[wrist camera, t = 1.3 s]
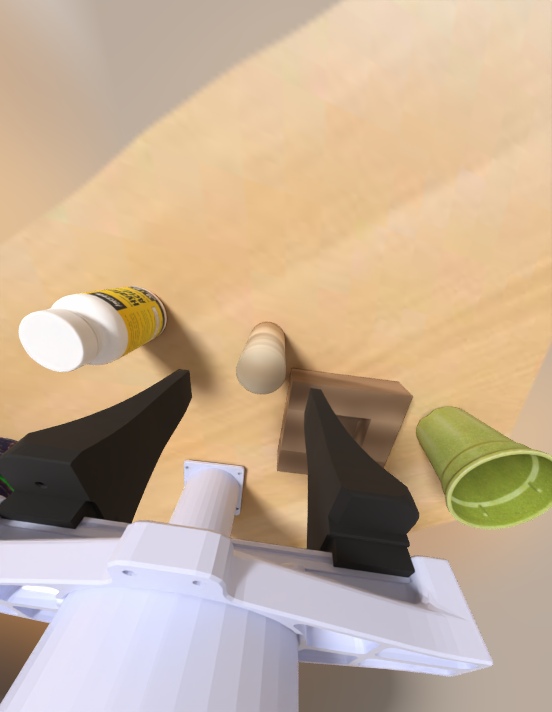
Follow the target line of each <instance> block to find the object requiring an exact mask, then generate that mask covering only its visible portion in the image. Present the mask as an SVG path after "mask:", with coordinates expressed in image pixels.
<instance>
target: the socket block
mask: <svg viewBox="0 0 552 712" xmlns="http://www.w3.org/2000/svg"><path fill="white" fill-rule="evenodd" d="M310 388H315V389H321V390H322V392H323V394H324V396H325V397H326V399H327V401H328V403H329V404H330V406H331V408H332V410H333V411H334V413H335V414H336V416H337V417H338V419H339V420H340V422H341V423H342V425H343V426H344V427H345V429H346V430H347V431H348V433H349V434H350V435H351V436H352V438H353V439H354V440H355V441H356V442H357V443H358V444H359V445H360V447H361V448H362V449H363V450H364V451H365V452H366V453H367V454H368V455H369V456H370V457H371V458H372V459H374V460H375V461H376V462H377V463H378V464H379V465H380V466H381V467H383V468H384V465H385V463H386V461H387V458H388V456H389V453H390V451H391V449H392V446H393V444H394V441H395V439H396V436H397V434H398V432H399V429H400V427H401V424H402V422H403V419H404V417H405V415H406V412H407V410H408V407H409V405H410V402H411V400H412V398H413V396H412V395H411V394H410V393H409V392H408V391H407V390H406V389H405V388H404V387H403V386H402V385H401V384H400V383H399V382H396V381H388V380H380V379H372V378H364V377H357V376H349V375H341V374H333V373H325V372H317V371H309V370H301V369H293V368H292V369H291V375H290V381H289V387H288V393H287V399H286V405H285V411H284V416H283V422H282V428H281V434H280V440H279V446H278V454H277V471H282V472H290V473H299V474H307V475H308V466H307V455H306V446H305V435H304V412H305V408H306V404H307V400H308V396H309V392H310Z"/></svg>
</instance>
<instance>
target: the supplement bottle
mask: <svg viewBox="0 0 552 712" xmlns="http://www.w3.org/2000/svg"><path fill="white" fill-rule="evenodd" d="M166 322H167V316H166V311H165V308H164V306H163V304H162V302H161V301H160V300H159V298H158V297H157V296H156V295H154V294H153V293H152V292H150V291H148V290H146V289H144V288H141V287H123V288H116V289H108V290H101V291H94V292H86V293H78V294H73V295H68V296H65V297H63V298H61V299H59V300H58V301H57V302H56V303H55V304H54V305H53V306H52V308H51V309H47V310H43V311H38V312H34V313H31V314H29V315H27V316H26V317H25V318H24V319H23V320H22V321H21V323H20V327H19V337H20V341H21V343H22V345H23V347H24V349H25V350H26V352H27V353H28V354H29V356H30V357H31V358H32V359H34V360H35V361H36V362H37V363H39V364H40V365H42V366H44V367H46V368H48V369H50V370H53V371H58V372H69V371H73V370H75V369H78V368H80V367H82V366H84V365H86V364H89V365H104V364H108V363H111V362H113V361H115V360H117V359H119V358H121V357H122V356H124V355H126V354H128V353H129V352H131V351H133V350H135V349H137V348H138V347H140V346H142V345H144V344H145V343H147V342H149V341H151V340H153V339H154V338H156V337H157V336H159V335H160V334H161V333H162V332H163V330H164V328H165V326H166Z"/></svg>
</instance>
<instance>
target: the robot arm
mask: <svg viewBox="0 0 552 712" xmlns="http://www.w3.org/2000/svg"><path fill="white" fill-rule="evenodd" d="M191 398H192V393H191V383H190V372H189V371H188V370H181V369H179V370H177V371H175V372H174V373H172V374H171V375H169V376H167V377H166V378H164V379H163V380H161V381H159V382H158V383H156V384H154V385H153V386H151V387H149V388H148V389H146V390H144V391H142V392H140V393H139V394H137V395H135V396H133V397H131V398H129V399H127V400H125V401H123V402H121V403H119V404H117V405H114V406H112V407H110V408H107V409H105V410H102V411H100V412H97V413H95V414H92V415H89V416H87V417H84V418H81V419H78V420H75V421H72V422H68V423H65V424H62V425H58V426H55V427H51V428H47V429H43V430H40V431H36V432H32V433H28V434H27V435H26V436H25V437H23V438H22V439H21V440H20V441H18V442H17V443H16V444H15V445H13V446H12V447H11V448H10V449H8V450H7V451H6V452H5V453H3V454H2V455H1V456H0V474H1V475H2V476H3V478H4V479H5V480H6V481H7V482H8V484H9V485H10V486H11V487H12V488H13V489H14V491H13V492H12V493H11V494H10V495H9V496H8V497H7V498H5V497H3V496H1V495H0V613H5V614H10V615H14V616H19V617H24V618H28V619H34V620H38V621H43V622H47V623H50V624H49V626H48V627H47V629H46V631H45V632H44V634H43V636H42V637H41V639H40V640H39V642H38V644H37V645H36V647H35V649H34V650H33V652H32V654H31V655H30V657H29V659H28V660H27V662H26V663H25V665H24V667H23V668H22V670H21V672H20V673H19V675H18V676H17V678H16V680H15V681H14V683H13V685H12V686H11V688H10V689H9V691H8V693H7V694H6V696H5V698H4V699H3V701H2V703H1V704H0V712H298V662H307V663H319V664H331V665H332V664H333V665H344V666H356V667H368V668H380V669H391V670H401V671H410V672H420V673H427V674H435V675H442V676H449V677H452V676H456V675H460V674H464V673H467V672H471V671H475V670H479V669H483V668H486V667H490V666H493V660H492V658H491V656H490V654H489V651H488V649H487V647H486V645H485V642H484V640H483V638H482V636H481V633H480V631H479V629H478V627H477V624H476V622H475V620H474V618H473V616H472V613H471V611H470V609H469V607H468V604H467V602H466V600H465V598H464V595H463V593H462V591H461V589H460V586H459V584H458V582H457V580H456V577H455V575H454V573H453V571H452V568H451V566H450V564H449V562H448V561H447V560H446V559H440V558H433V557H427V556H412V557H410V555H409V552H408V549H407V547H409V546H410V544H409V540H408V537H407V533H408V532H409V531H410V529H411V528H412V527H413V526H414V525H415V524H416V522H417V521H418V519H419V512H418V509H417V507H416V505H415V502H414V500H413V498H412V496H411V494H410V492H409V490H408V488H407V487H406V486H405V485H404V484H403V483H401V482H400V481H399V480H397V479H396V478H395V477H393V476H392V475H391V474H390V473H388V472H387V471H386V470H385V469H384V468H383V467H381V466H380V465H379V464H378V463H377V462H376V461H375V460H374V459H372V458H371V457H370V456H369V455H368V454H367V453H366V452H365V451H364V450H363V449H362V448H361V447H360V445H359V444H358V443H357V442H356V441H355V440H354V439H353V438H352V436H351V435H350V434H349V433H348V431H347V430H346V429H345V427H344V426H343V425H342V423H341V422H340V420H339V419H338V417H337V416H336V414H335V413H334V411H333V410H332V408H331V406H330V404H329V403H328V401H327V399H326V397H325V396H324V394H323V392H322V390H321V389H315V388H310V392H309V396H308V400H307V404H306V408H305V412H304V435H305V446H306V455H307V466H308V523H307V549H302V548H295V547H288V546H281V545H275V544H268V543H261V542H254V541H247V540H240V539H233V538H230V536H231V531H232V525H233V520H234V515H239V514H240V509H241V499H242V489H243V479H244V470H245V469H244V467H242V466H236V465H227V464H219V463H210V462H202V461H193V460H186V461H185V462H184V485H185V487H184V489H183V492H182V494H181V496H180V498H179V501H178V503H177V505H176V508H175V510H174V512H173V514H172V517H171V519H170V521H169V523H163V522H156V521H140V520H139V521H136V522H134V523H132V521H133V518H134V515H135V513H136V510H137V508H138V505H139V503H140V500H141V498H142V495H143V493H144V491H145V488H146V486H147V483H148V481H149V479H150V477H151V474H152V472H153V470H154V468H155V466H156V463H157V461H158V459H159V457H160V455H161V453H162V451H163V449H164V447H165V445H166V444H167V442H168V440H169V439H170V437H171V435H172V434H173V432H174V431H175V429H176V427H177V426H178V424H179V422H180V421H181V419H182V417H183V416H184V414H185V412H186V410H187V408H188V405H189V403H190V401H191ZM240 472H241V473H240ZM131 523H132V524H131Z"/></svg>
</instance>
